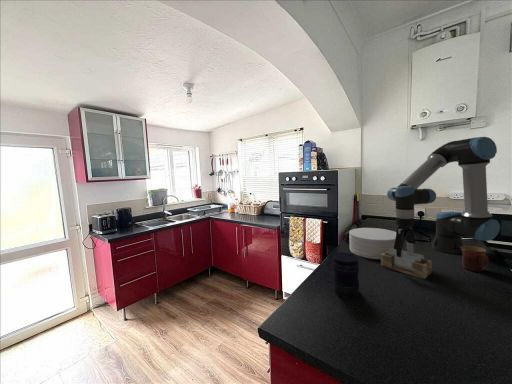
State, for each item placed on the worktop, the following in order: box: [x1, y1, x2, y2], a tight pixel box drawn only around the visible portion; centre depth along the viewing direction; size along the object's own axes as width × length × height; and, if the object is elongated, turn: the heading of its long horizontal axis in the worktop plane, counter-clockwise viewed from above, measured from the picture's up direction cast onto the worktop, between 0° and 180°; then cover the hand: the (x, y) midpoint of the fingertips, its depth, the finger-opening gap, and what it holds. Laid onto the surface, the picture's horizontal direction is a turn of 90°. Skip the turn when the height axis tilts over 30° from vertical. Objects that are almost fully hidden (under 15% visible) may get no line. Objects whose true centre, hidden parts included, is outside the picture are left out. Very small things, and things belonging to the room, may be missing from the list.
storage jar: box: [332, 252, 360, 298], centre depth 88 cm, size 10×10×15 cm
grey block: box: [388, 248, 425, 272], centre depth 106 cm, size 4×14×8 cm, turn 37°
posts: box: [380, 251, 433, 280], centre depth 106 cm, size 10×19×6 cm, turn 36°
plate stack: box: [348, 227, 396, 260], centre depth 132 cm, size 28×28×12 cm
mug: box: [461, 245, 489, 273], centre depth 100 cm, size 12×9×10 cm
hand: (404, 259), depth 105 cm, fingers open, 13 cm apart
